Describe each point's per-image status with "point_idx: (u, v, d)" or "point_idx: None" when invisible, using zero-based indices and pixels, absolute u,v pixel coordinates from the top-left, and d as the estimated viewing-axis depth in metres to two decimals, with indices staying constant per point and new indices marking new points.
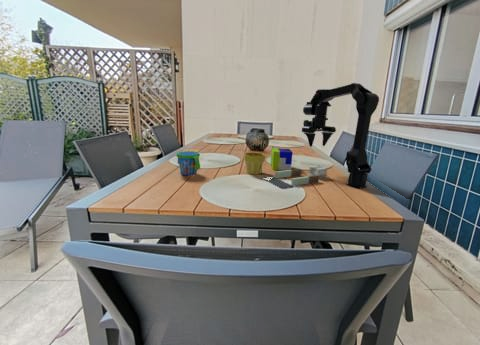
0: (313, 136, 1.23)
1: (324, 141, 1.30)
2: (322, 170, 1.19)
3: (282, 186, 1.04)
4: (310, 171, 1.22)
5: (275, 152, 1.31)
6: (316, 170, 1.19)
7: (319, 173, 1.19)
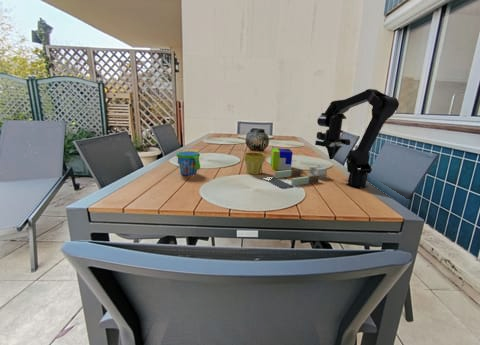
0: (334, 149, 1.20)
1: None
2: (322, 170, 1.19)
3: (282, 186, 1.04)
4: (310, 171, 1.22)
5: (275, 152, 1.31)
6: (316, 170, 1.19)
7: (319, 173, 1.19)
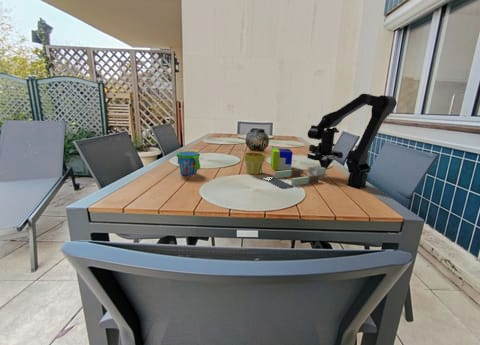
0: (326, 162, 1.20)
1: (324, 167, 1.23)
2: (321, 170, 1.19)
3: (282, 186, 1.04)
4: (308, 171, 1.22)
5: (275, 152, 1.31)
6: (315, 170, 1.18)
7: (318, 173, 1.18)
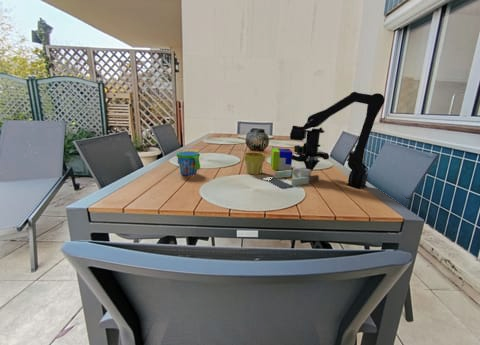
0: (311, 164, 1.15)
1: None
2: (306, 172, 1.14)
3: (282, 186, 1.04)
4: (293, 173, 1.17)
5: (275, 152, 1.31)
6: (299, 172, 1.14)
7: (302, 175, 1.14)
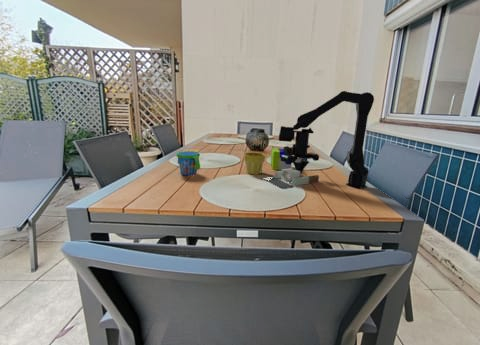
0: (300, 165, 1.12)
1: (299, 170, 1.15)
2: (295, 173, 1.11)
3: (282, 186, 1.04)
4: (282, 174, 1.14)
5: (275, 152, 1.31)
6: (288, 173, 1.10)
7: (291, 176, 1.10)
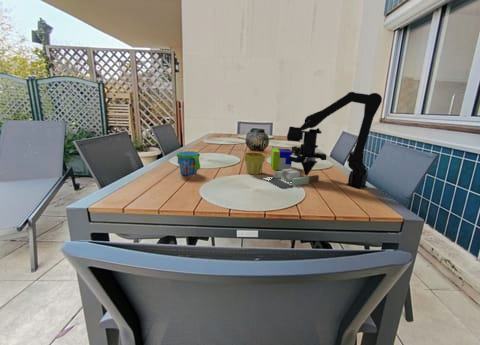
0: (308, 165, 1.14)
1: None
2: (295, 173, 1.11)
3: (282, 186, 1.04)
4: (282, 175, 1.14)
5: (275, 152, 1.31)
6: (288, 173, 1.10)
7: (291, 177, 1.10)
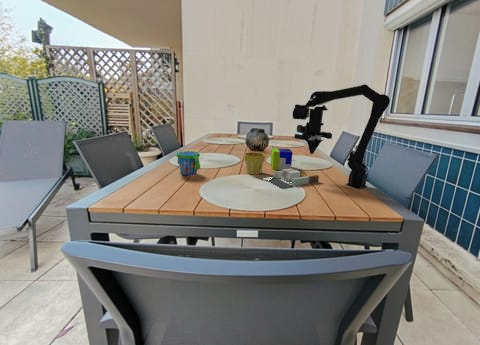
0: (314, 143, 1.13)
1: None
2: (295, 173, 1.11)
3: (282, 186, 1.04)
4: (282, 175, 1.14)
5: (275, 152, 1.31)
6: (288, 173, 1.10)
7: (291, 177, 1.10)
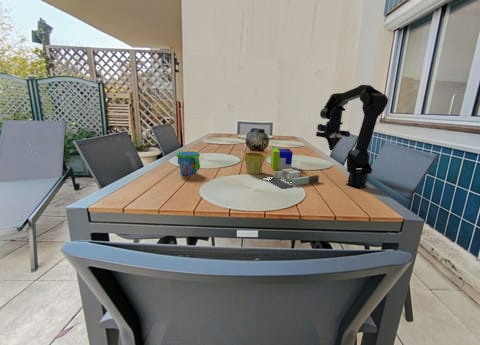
0: (334, 140, 1.24)
1: None
2: (295, 173, 1.11)
3: (282, 186, 1.04)
4: (282, 175, 1.14)
5: (275, 152, 1.31)
6: (288, 173, 1.10)
7: (291, 177, 1.10)
